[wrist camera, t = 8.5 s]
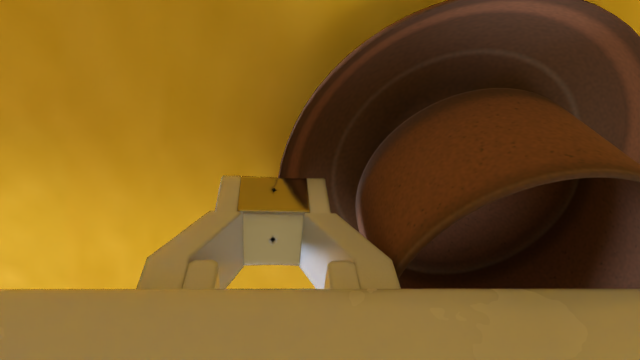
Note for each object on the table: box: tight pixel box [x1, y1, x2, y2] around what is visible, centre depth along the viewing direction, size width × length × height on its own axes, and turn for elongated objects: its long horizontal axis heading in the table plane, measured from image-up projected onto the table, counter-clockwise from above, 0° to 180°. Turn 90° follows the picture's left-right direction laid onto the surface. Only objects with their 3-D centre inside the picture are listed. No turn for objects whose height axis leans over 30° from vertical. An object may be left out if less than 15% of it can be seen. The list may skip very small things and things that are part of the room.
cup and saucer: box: [278, 0, 640, 289], centre depth 12 cm, size 12×12×6 cm
